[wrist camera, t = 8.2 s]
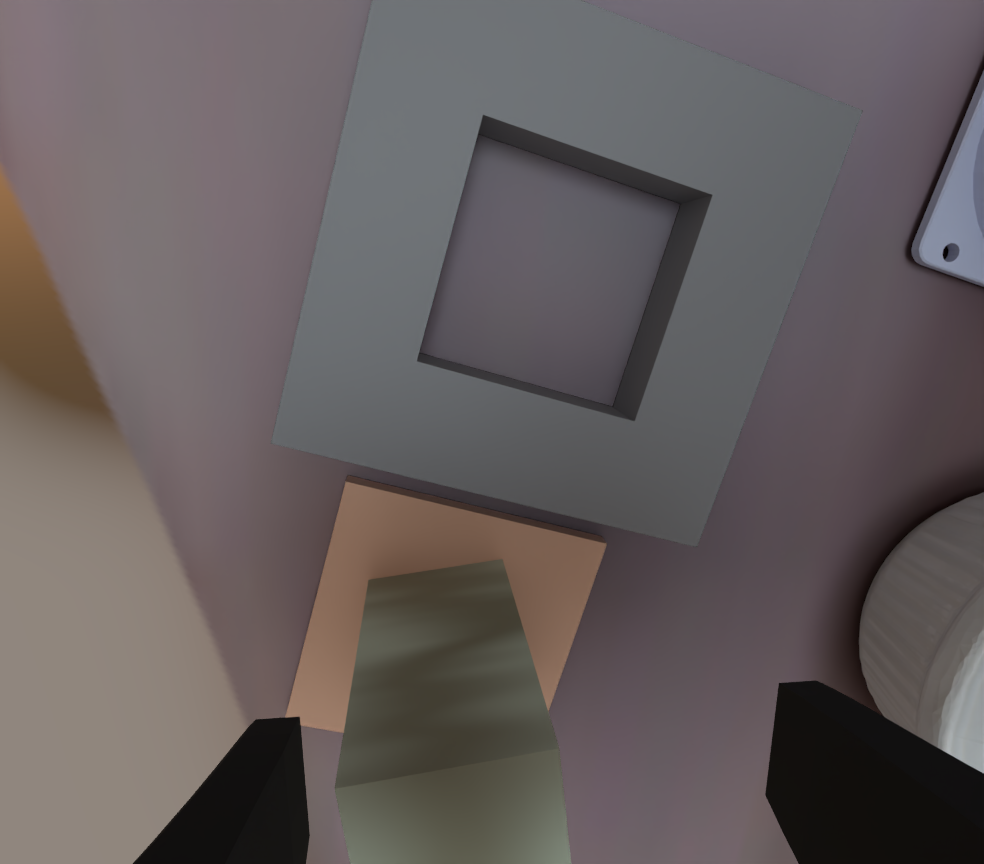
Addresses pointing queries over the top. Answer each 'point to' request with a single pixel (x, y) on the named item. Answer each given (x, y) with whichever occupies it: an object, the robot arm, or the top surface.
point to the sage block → (448, 728)
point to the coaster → (428, 546)
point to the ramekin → (931, 632)
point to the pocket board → (599, 150)
